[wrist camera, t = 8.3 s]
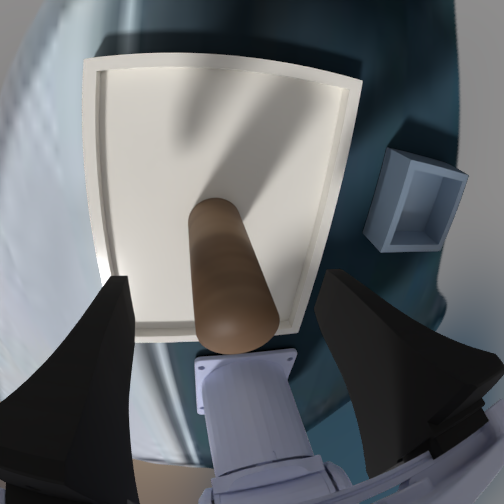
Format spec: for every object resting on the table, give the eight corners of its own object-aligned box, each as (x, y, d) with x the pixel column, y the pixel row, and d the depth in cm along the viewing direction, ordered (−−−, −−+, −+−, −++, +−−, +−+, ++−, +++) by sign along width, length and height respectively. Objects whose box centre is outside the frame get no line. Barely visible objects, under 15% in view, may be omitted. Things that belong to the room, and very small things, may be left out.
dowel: (237, 244, 16) (272, 350, 10) (187, 245, 15) (196, 356, 9) (243, 198, 14) (286, 293, 9) (188, 197, 14) (195, 298, 8)
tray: (292, 320, 21) (298, 332, 20) (119, 328, 18) (118, 342, 17) (349, 79, 12) (362, 80, 11) (92, 59, 9) (83, 58, 8)
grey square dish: (421, 234, 19) (440, 250, 17) (362, 232, 18) (380, 252, 16) (446, 162, 16) (468, 175, 14) (386, 146, 15) (410, 159, 13)
